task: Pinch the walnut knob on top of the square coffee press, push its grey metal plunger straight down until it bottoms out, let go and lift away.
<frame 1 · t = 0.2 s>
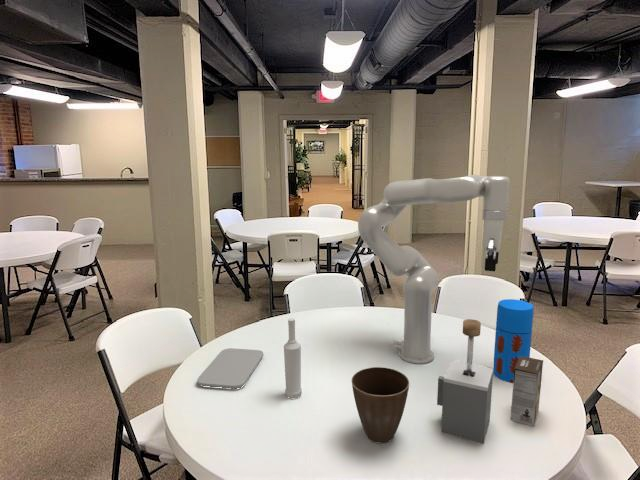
hand: (491, 267, 148), 37 cm above the table, tool pointing down, fingers open, 9 cm apart
thermos: (510, 375, 153), on the table
coffee box: (524, 416, 130), on the table
bottle: (293, 395, 142), on the table
plant pot: (379, 435, 122), on the table
tablet: (232, 372, 159), on the table
press: (465, 426, 125), on the table
plunger: (469, 355, 121), point 21 cm above the table, slide at 0.0 cm
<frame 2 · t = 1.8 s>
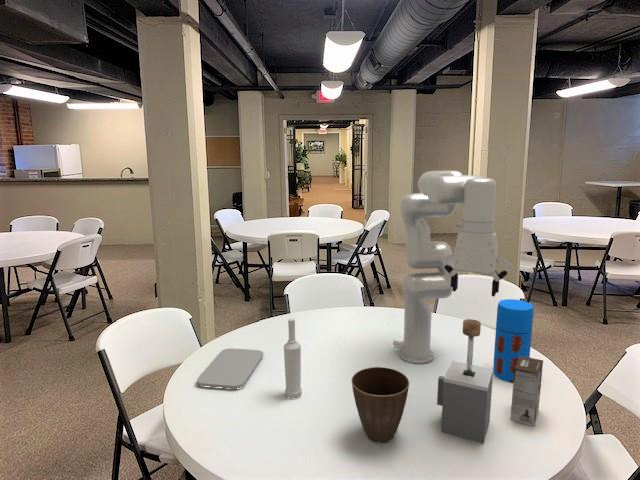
hand: (474, 292, 118), 39 cm above the table, tool pointing down, fingers open, 9 cm apart
nothing on the table moved.
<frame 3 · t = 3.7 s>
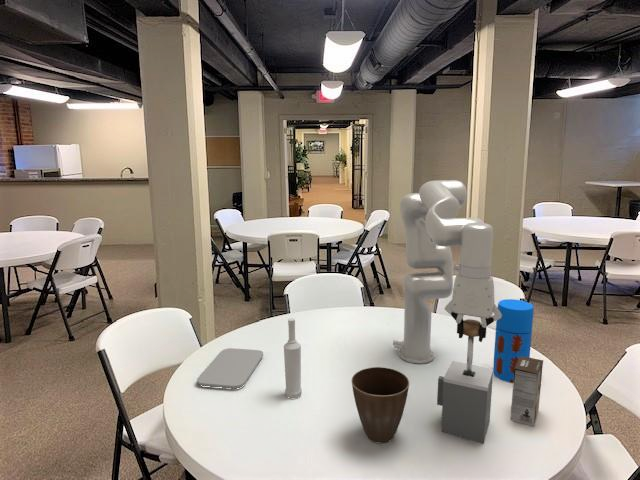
hand: (471, 337, 120), 26 cm above the table, tool pointing down, fingers closed on plunger, 4 cm apart
plunger: (469, 355, 121), point 21 cm above the table, slide at 0.0 cm, touching gripper
everything else where it was.
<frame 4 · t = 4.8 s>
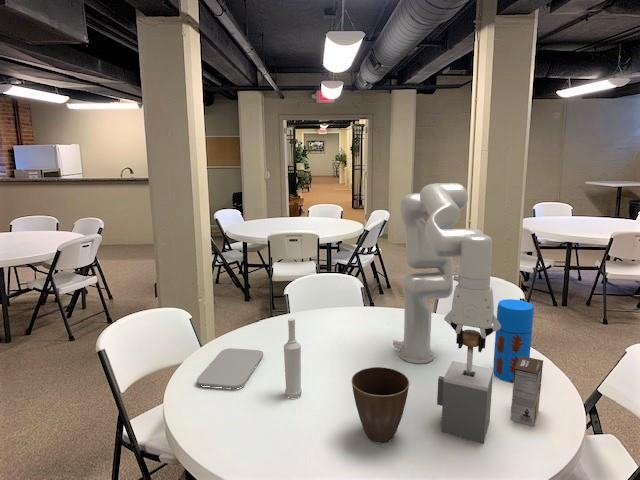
hand: (470, 347, 120), 23 cm above the table, tool pointing down, fingers closed on plunger, 4 cm apart
plunger: (469, 365, 122), point 18 cm above the table, slide at 2.9 cm, touching gripper
everything else where it was.
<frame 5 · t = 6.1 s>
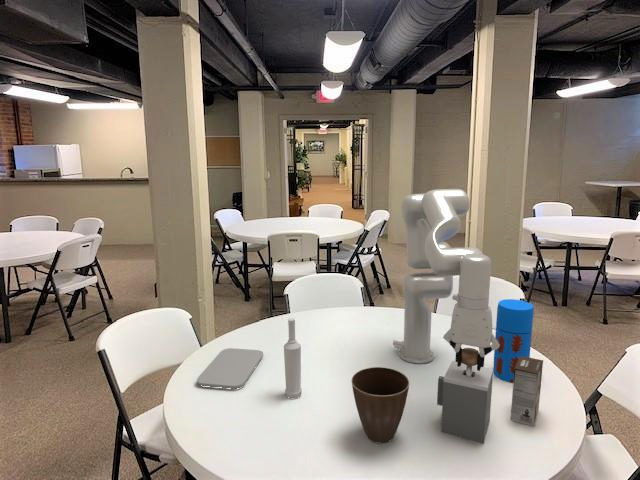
hand: (469, 365, 122), 18 cm above the table, tool pointing down, fingers closed on plunger, 4 cm apart
plunger: (468, 383, 123), point 13 cm above the table, slide at 8.2 cm, touching gripper
everything else where it was.
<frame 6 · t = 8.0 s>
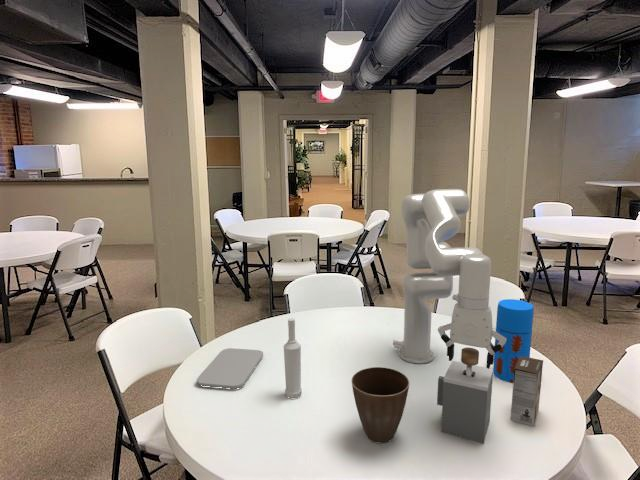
hand: (469, 362, 121), 19 cm above the table, tool pointing down, fingers open, 9 cm apart
plunger: (468, 383, 123), point 13 cm above the table, slide at 8.1 cm
everything else where it was.
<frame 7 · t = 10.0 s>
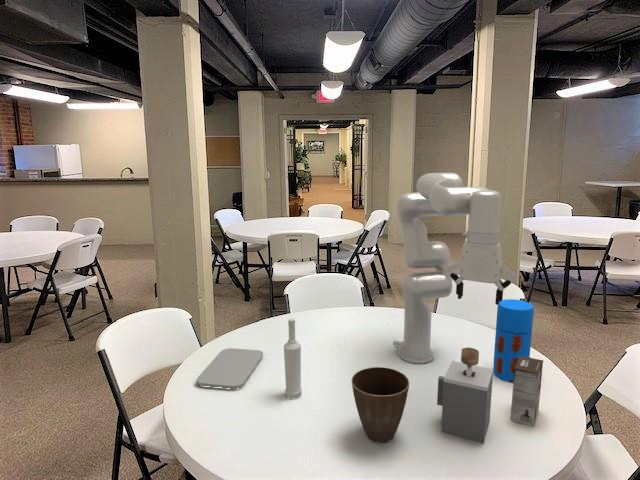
hand: (478, 300, 122), 35 cm above the table, tool pointing down, fingers open, 9 cm apart
nothing on the table moved.
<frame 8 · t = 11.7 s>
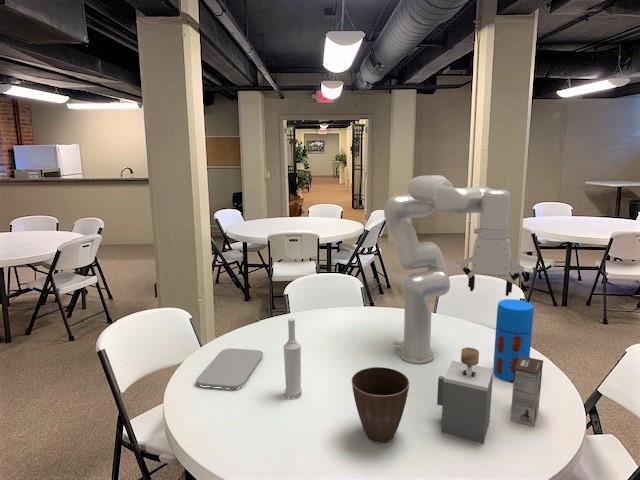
hand: (489, 292, 131), 34 cm above the table, tool pointing down, fingers open, 9 cm apart
nothing on the table moved.
at the end: plunger slide at 8.1 cm; the gripper is holding nothing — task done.
